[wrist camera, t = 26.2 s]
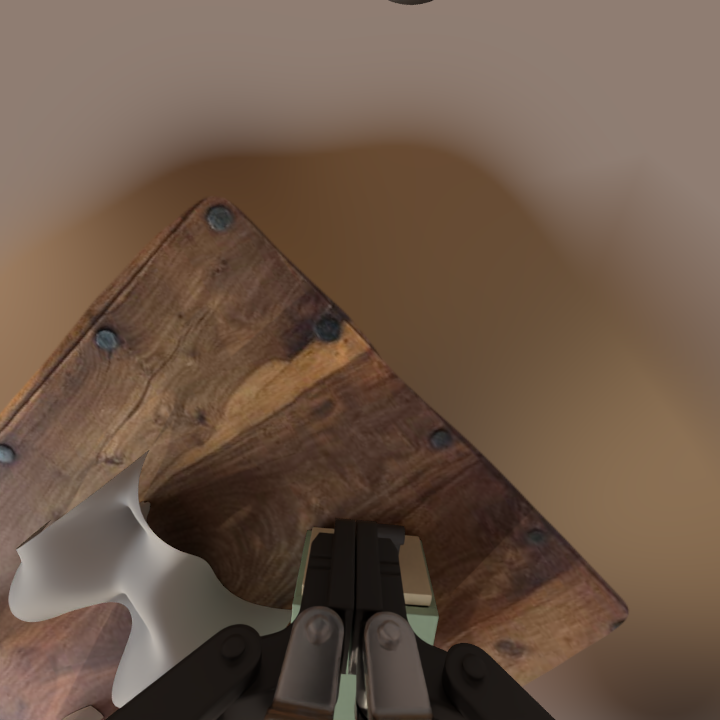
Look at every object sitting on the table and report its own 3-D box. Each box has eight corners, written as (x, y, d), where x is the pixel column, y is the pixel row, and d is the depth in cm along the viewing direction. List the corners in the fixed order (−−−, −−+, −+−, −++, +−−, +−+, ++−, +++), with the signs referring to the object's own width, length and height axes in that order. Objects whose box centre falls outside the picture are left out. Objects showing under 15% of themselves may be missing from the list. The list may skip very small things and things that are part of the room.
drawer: (315, 490, 37) (305, 541, 30) (425, 500, 38) (440, 553, 31) (303, 627, 42) (292, 700, 34) (402, 635, 42) (410, 709, 35)
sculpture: (28, 536, 40) (-76, 619, 30) (157, 444, 37) (88, 503, 28) (181, 678, 44) (134, 788, 35) (305, 605, 42) (289, 703, 32)
